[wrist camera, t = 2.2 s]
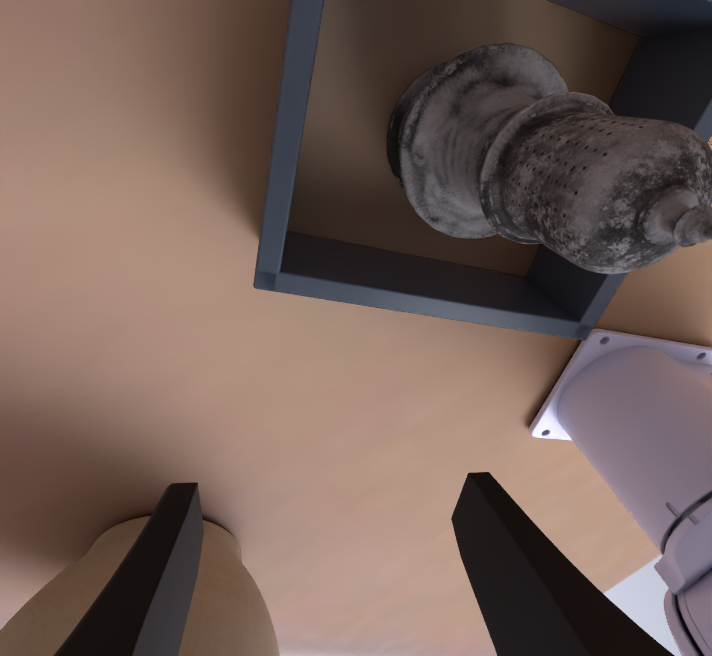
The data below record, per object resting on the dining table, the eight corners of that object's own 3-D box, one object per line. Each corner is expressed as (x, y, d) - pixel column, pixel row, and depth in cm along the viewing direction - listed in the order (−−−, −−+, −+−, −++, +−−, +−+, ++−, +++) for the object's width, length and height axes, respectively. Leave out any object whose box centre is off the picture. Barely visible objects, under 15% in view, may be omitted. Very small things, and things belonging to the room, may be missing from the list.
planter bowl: (70, 623, 30) (-27, 858, 21) (-1, 480, 22) (-208, 761, 13) (286, 603, 33) (284, 804, 24) (293, 470, 25) (294, 696, 16)
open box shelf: (670, 18, 15) (797, -3, 11) (531, 293, 21) (586, 341, 17) (311, -129, 12) (320, -229, 8) (261, 243, 17) (252, 289, 14)
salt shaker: (353, 103, 15) (479, 147, 5) (499, 16, 14) (1004, -144, 4) (413, 236, 18) (567, 431, 8) (536, 170, 17) (881, 294, 7)
